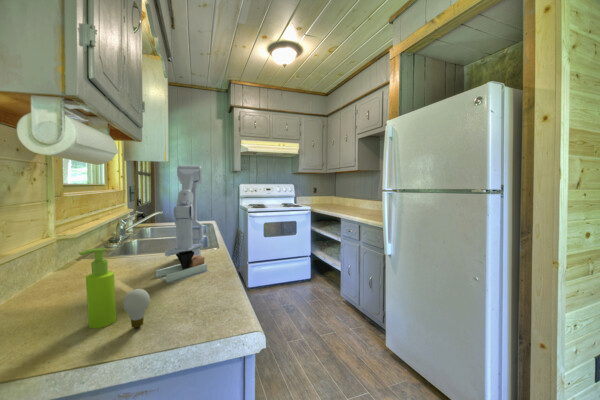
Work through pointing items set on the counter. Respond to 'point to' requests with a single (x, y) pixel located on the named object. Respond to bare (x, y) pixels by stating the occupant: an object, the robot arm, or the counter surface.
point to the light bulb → (136, 306)
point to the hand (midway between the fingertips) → (185, 270)
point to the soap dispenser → (100, 291)
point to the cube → (196, 261)
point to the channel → (180, 272)
